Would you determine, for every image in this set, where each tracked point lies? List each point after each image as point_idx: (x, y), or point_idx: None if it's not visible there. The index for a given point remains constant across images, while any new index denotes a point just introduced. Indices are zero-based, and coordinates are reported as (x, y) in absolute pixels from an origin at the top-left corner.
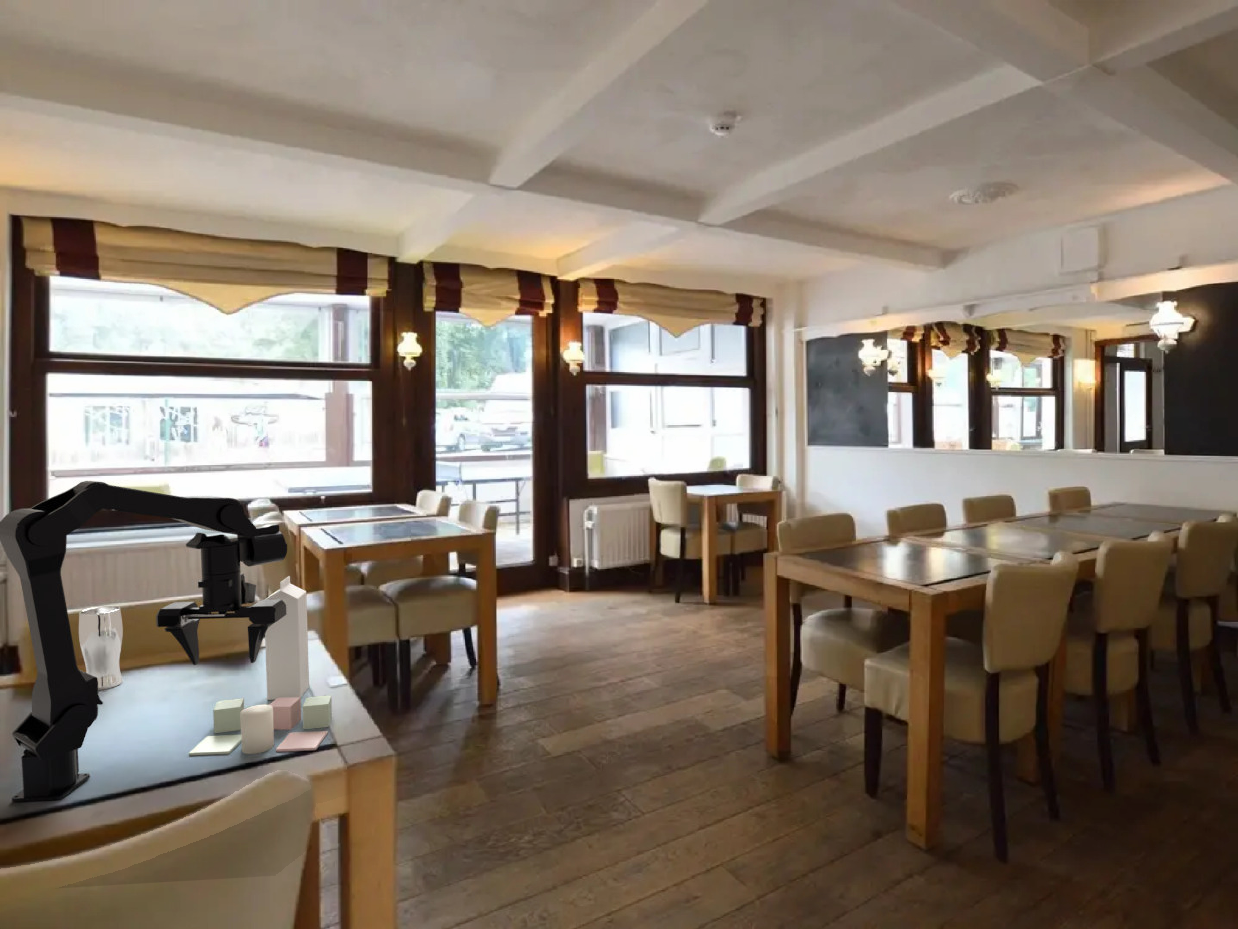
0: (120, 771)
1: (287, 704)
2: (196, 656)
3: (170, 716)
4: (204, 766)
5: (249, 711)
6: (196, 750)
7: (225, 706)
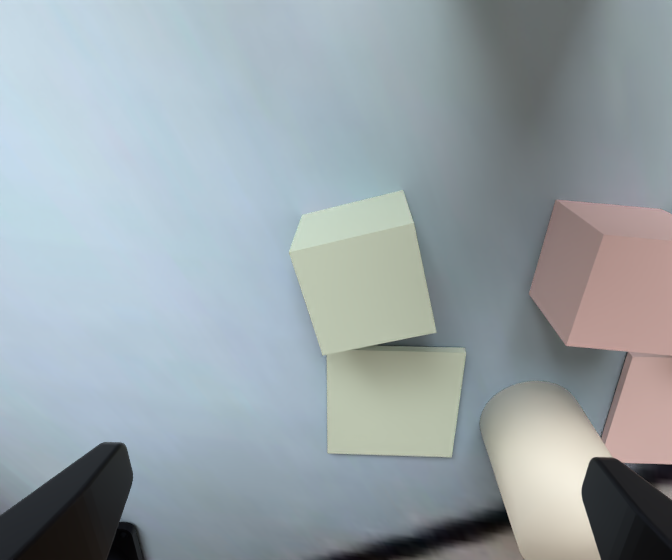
0: (187, 501)
1: (668, 333)
2: (100, 530)
3: (26, 103)
4: (405, 503)
5: (555, 543)
6: (343, 442)
7: (361, 321)
